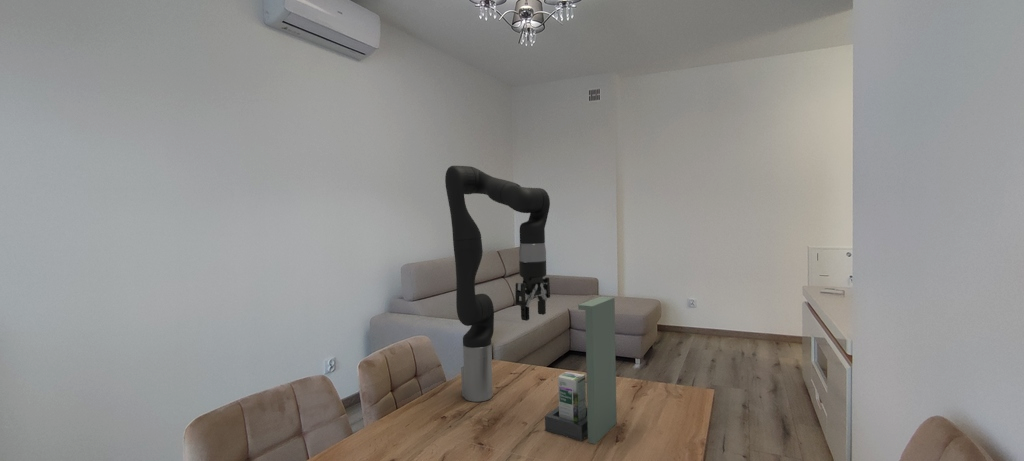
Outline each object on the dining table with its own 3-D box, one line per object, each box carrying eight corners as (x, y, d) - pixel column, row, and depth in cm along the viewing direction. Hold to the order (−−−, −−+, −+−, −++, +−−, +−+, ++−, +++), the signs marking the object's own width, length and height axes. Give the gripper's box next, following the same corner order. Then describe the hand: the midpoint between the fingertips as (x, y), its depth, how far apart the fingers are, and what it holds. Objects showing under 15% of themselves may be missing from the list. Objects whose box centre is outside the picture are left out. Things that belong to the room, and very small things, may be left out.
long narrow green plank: (580, 440, 117) (578, 304, 116) (603, 419, 129) (601, 296, 128) (595, 444, 115) (592, 306, 114) (616, 423, 126) (614, 297, 125)
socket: (545, 430, 123) (544, 416, 123) (564, 415, 132) (564, 402, 132) (581, 441, 117) (581, 426, 117) (599, 424, 126) (599, 410, 125)
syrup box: (558, 428, 124) (557, 376, 123) (568, 420, 129) (567, 370, 128) (576, 434, 120) (575, 380, 120) (587, 425, 125) (586, 373, 125)
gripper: (535, 256, 134) (536, 311, 135) (506, 261, 123) (508, 320, 123) (557, 257, 130) (558, 313, 130) (529, 262, 118) (531, 323, 119)
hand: (533, 317), depth 127 cm, fingers open, 8 cm apart
